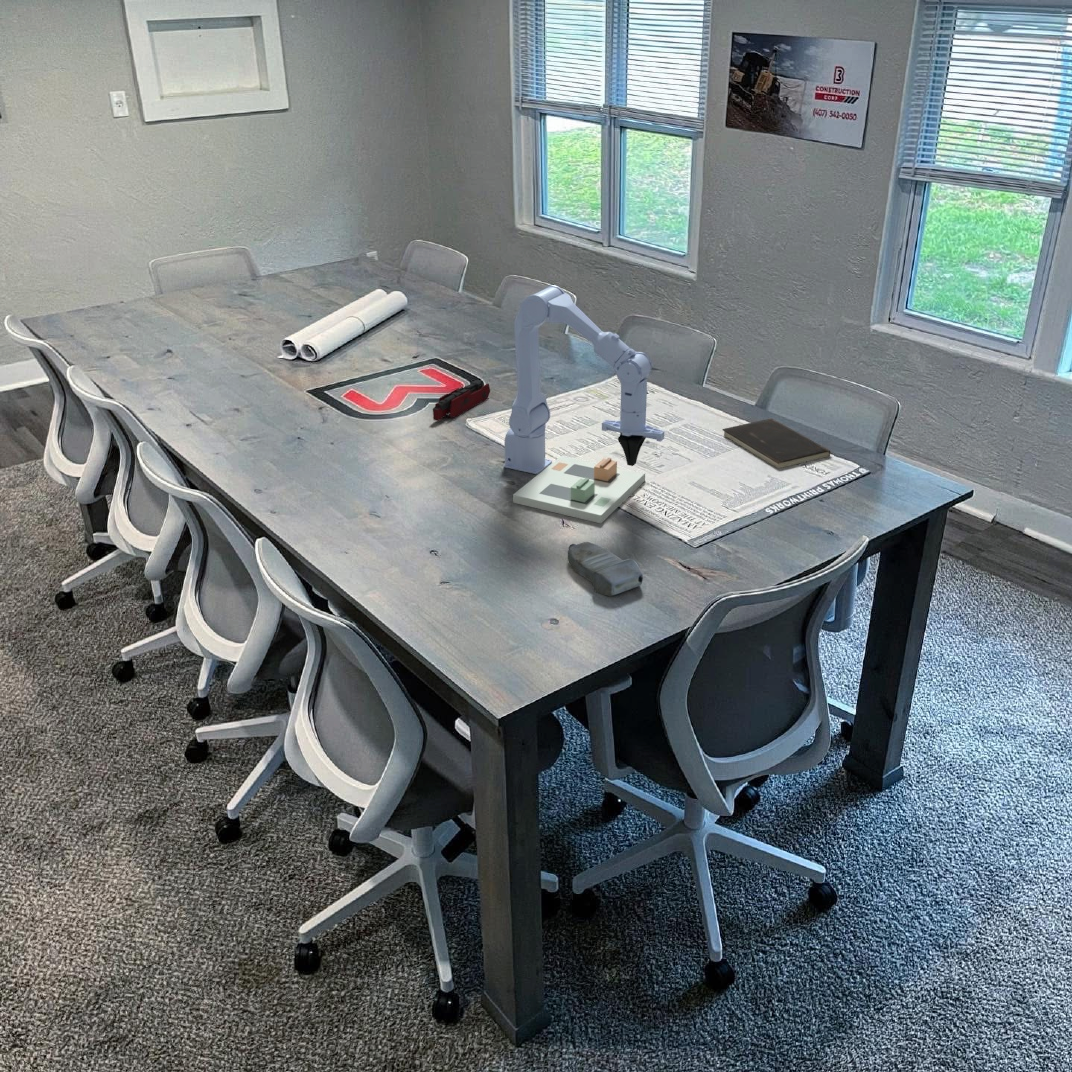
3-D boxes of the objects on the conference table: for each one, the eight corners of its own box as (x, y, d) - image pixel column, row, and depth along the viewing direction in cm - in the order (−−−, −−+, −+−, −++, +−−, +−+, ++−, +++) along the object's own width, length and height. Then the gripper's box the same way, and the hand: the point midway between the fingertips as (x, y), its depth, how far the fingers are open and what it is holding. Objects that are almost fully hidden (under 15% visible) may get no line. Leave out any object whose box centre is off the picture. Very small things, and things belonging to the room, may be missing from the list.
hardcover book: (777, 471, 253) (778, 462, 252) (721, 437, 271) (722, 428, 270) (830, 458, 259) (831, 449, 258) (772, 425, 277) (773, 417, 276)
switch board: (513, 502, 239) (513, 494, 238) (562, 462, 257) (562, 455, 256) (600, 523, 230) (601, 515, 229) (644, 480, 248) (645, 472, 247)
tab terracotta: (593, 478, 244) (594, 464, 243) (603, 470, 248) (603, 456, 246) (607, 481, 243) (607, 467, 241) (616, 473, 247) (617, 459, 245)
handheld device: (588, 546, 221) (589, 527, 219) (648, 588, 207) (649, 568, 204) (550, 559, 217) (550, 540, 215) (608, 603, 202) (609, 582, 200)
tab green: (570, 499, 235) (570, 484, 233) (580, 490, 239) (580, 476, 237) (584, 502, 234) (584, 487, 232) (594, 493, 238) (594, 479, 236)
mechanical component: (442, 425, 280) (441, 406, 277) (428, 422, 282) (427, 402, 279) (490, 397, 297) (490, 379, 294) (477, 394, 299) (477, 376, 296)
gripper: (596, 408, 234) (595, 464, 241) (656, 420, 228) (654, 476, 234) (609, 398, 240) (608, 453, 246) (669, 409, 233) (666, 464, 240)
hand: (631, 463), depth 241 cm, fingers closed
